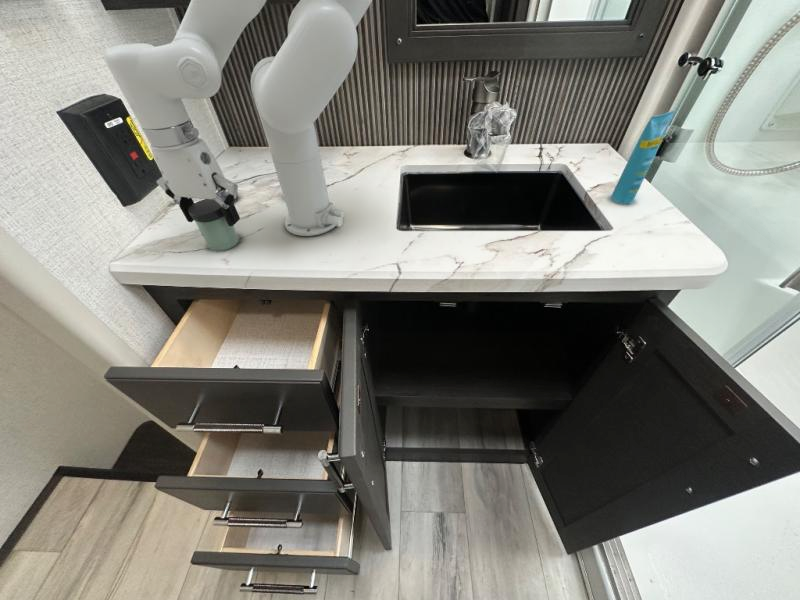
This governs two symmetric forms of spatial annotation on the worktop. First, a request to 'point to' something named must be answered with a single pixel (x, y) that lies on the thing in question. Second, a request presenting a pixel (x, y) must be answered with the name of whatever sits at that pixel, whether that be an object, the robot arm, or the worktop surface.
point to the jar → (218, 234)
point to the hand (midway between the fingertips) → (214, 220)
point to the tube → (641, 159)
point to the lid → (205, 210)
